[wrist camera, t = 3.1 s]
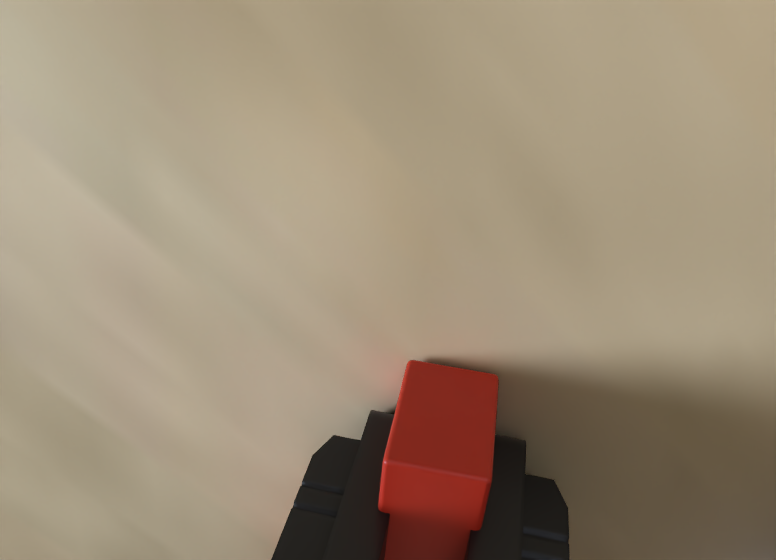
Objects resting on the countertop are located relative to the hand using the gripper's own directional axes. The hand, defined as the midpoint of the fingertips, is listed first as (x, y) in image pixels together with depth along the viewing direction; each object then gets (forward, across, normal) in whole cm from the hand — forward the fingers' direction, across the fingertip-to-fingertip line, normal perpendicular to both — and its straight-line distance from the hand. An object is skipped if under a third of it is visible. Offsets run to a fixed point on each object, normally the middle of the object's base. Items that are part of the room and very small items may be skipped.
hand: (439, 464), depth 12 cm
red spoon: (0, 0, +2) cm, 2 cm away
